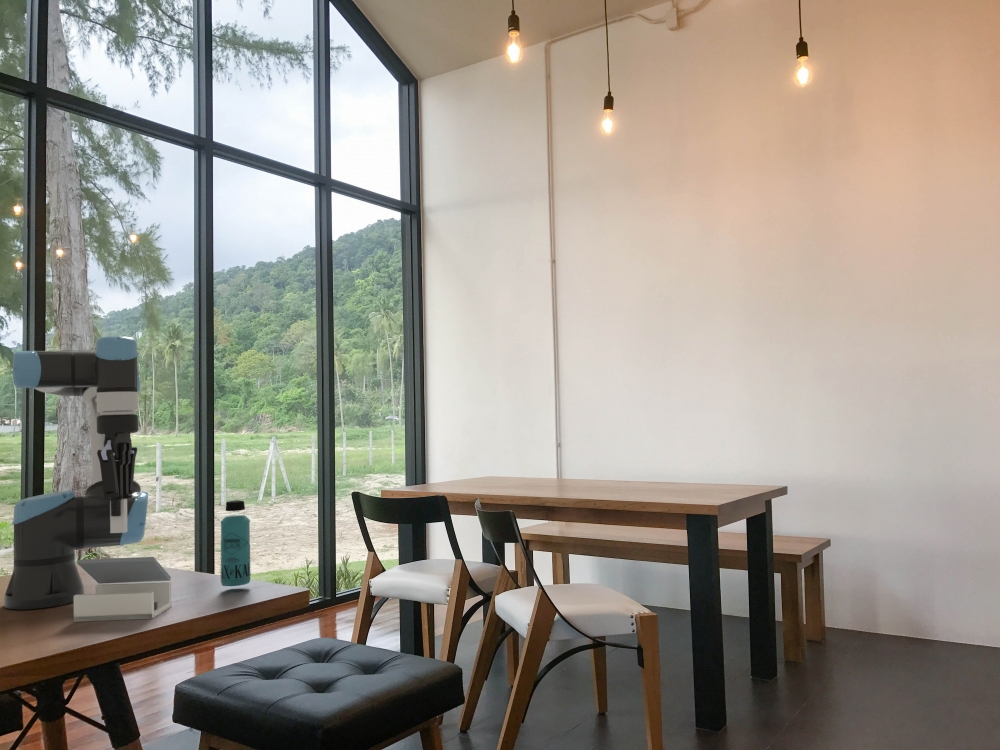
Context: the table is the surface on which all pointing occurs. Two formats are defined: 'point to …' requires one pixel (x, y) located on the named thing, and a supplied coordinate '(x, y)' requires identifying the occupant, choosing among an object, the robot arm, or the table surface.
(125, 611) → the white boxy piece
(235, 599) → the table surface
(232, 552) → the beverage bottle
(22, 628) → the table surface
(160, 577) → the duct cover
